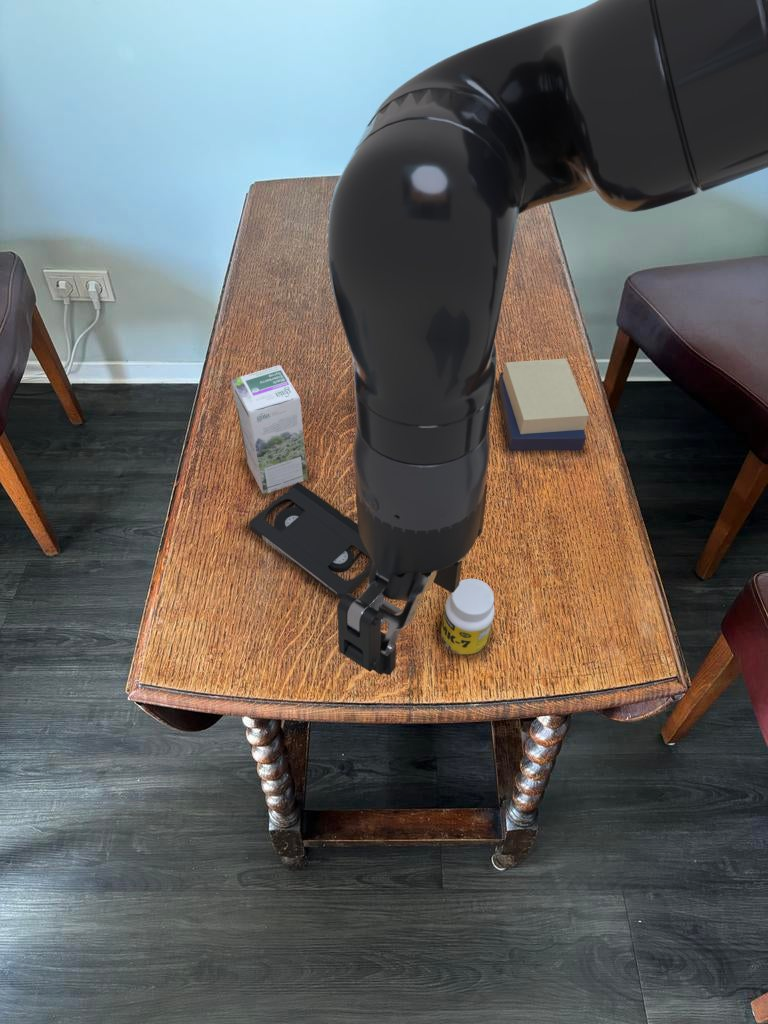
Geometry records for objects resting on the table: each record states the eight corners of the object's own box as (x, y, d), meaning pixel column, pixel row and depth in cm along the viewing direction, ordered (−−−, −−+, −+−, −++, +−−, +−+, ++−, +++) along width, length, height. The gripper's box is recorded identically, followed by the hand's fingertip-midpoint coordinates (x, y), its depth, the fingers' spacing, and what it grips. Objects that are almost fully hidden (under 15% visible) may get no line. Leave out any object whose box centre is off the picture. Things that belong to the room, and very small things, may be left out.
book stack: (580, 454, 90) (591, 423, 85) (508, 455, 90) (515, 423, 85) (563, 388, 97) (572, 356, 93) (497, 389, 97) (503, 357, 93)
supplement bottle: (430, 638, 74) (436, 596, 67) (459, 609, 76) (468, 565, 69) (467, 668, 72) (477, 627, 65) (496, 637, 74) (508, 594, 67)
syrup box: (291, 451, 89) (279, 360, 78) (309, 484, 86) (300, 394, 75) (247, 466, 88) (228, 375, 76) (264, 501, 85) (247, 411, 73)
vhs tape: (249, 533, 82) (247, 522, 80) (299, 492, 85) (298, 482, 84) (342, 605, 76) (341, 595, 74) (391, 558, 80) (391, 548, 78)
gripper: (403, 593, 36) (401, 725, 49) (536, 431, 44) (505, 582, 56) (289, 526, 39) (314, 667, 52) (432, 384, 47) (424, 538, 59)
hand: (413, 623), depth 54 cm, fingers open, 8 cm apart
